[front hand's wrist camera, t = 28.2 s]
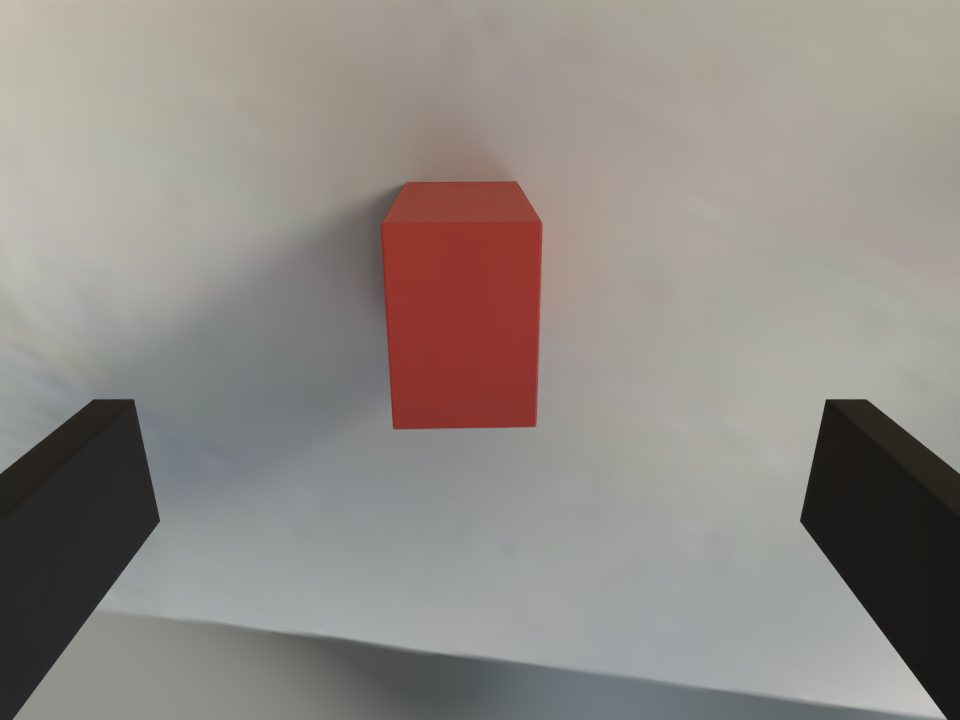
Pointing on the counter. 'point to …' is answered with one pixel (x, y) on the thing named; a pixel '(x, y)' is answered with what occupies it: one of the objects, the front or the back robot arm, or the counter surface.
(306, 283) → the counter surface
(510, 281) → the block
